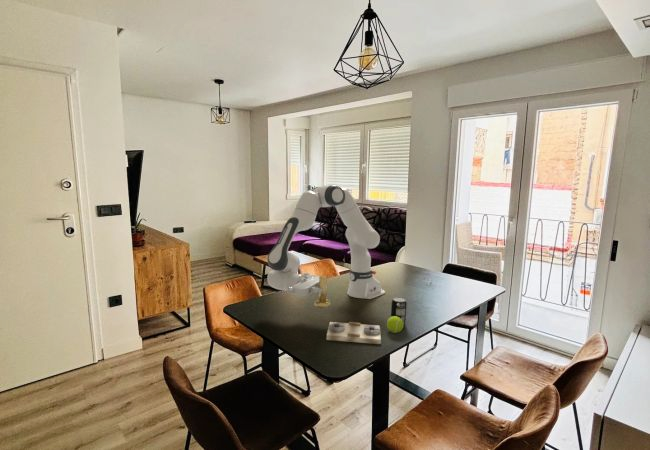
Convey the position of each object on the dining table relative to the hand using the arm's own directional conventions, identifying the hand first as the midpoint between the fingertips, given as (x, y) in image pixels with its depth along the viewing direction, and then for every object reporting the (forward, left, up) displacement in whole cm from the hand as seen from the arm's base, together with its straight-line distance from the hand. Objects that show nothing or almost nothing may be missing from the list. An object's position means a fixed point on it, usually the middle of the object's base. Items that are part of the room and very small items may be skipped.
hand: (324, 289), depth 152 cm
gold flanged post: (0, -1, -8) cm, 8 cm away
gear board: (-5, +15, -17) cm, 23 cm away
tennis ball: (-22, +22, -17) cm, 36 cm away
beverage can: (-29, +17, -17) cm, 38 cm away
